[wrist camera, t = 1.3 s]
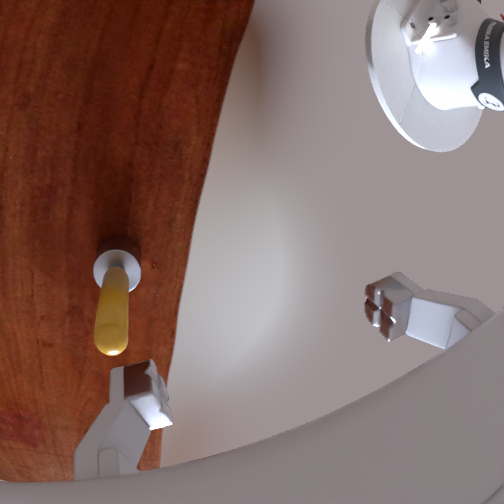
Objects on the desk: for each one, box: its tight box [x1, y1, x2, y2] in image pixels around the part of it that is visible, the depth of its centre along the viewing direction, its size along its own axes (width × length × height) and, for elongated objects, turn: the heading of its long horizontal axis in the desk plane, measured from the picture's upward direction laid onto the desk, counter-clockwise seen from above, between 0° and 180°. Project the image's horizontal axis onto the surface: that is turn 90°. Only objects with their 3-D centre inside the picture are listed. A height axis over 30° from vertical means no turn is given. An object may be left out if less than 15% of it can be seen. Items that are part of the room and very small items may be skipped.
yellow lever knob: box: [93, 236, 141, 355], centre depth 25 cm, size 5×5×14 cm
